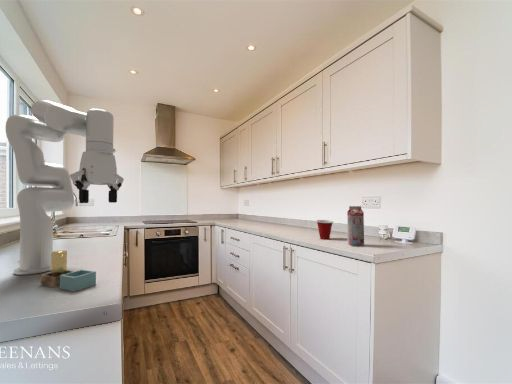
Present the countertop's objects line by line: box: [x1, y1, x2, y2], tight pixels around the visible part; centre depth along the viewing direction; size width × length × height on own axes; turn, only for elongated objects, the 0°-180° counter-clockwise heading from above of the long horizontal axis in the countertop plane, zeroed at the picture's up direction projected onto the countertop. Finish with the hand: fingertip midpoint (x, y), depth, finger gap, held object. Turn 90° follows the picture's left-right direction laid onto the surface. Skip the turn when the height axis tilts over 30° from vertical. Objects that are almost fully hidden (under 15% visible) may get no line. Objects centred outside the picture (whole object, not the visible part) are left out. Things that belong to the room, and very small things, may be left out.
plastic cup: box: [316, 219, 334, 240], centre depth 166 cm, size 11×11×12 cm
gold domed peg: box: [50, 250, 68, 277], centre depth 82 cm, size 4×4×10 cm
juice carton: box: [346, 205, 365, 247], centre depth 143 cm, size 7×7×22 cm
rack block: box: [59, 269, 97, 292], centre depth 78 cm, size 7×7×4 cm
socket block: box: [40, 269, 75, 288], centre depth 82 cm, size 7×7×3 cm
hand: (99, 202), depth 81 cm, fingers open, 9 cm apart
